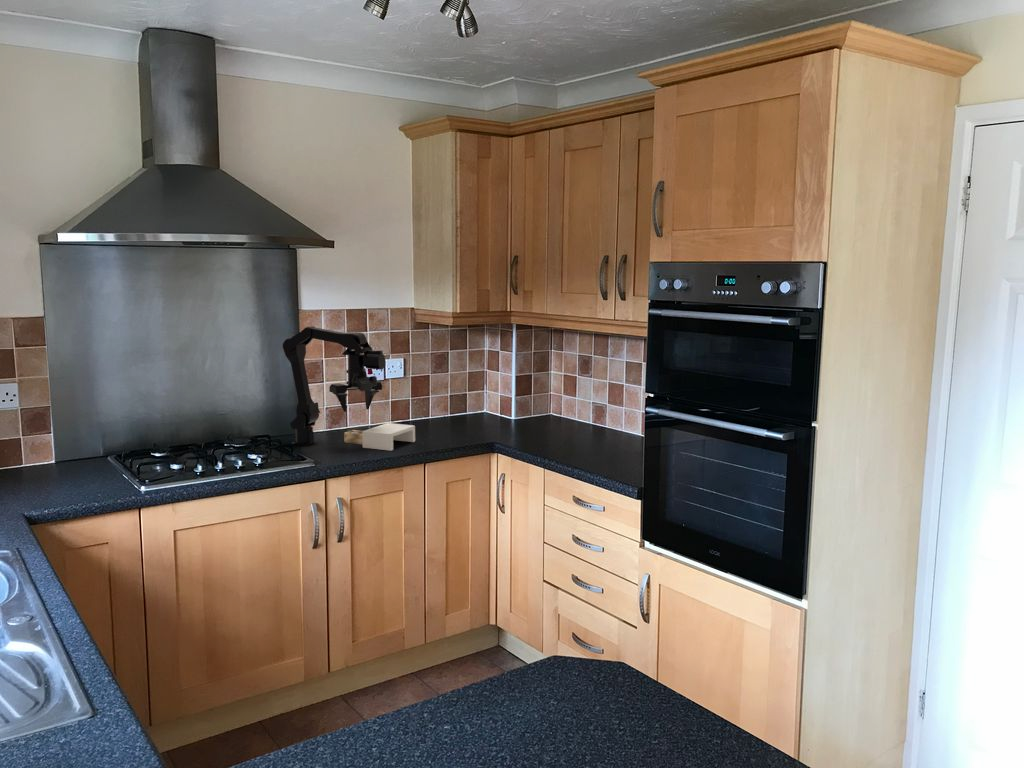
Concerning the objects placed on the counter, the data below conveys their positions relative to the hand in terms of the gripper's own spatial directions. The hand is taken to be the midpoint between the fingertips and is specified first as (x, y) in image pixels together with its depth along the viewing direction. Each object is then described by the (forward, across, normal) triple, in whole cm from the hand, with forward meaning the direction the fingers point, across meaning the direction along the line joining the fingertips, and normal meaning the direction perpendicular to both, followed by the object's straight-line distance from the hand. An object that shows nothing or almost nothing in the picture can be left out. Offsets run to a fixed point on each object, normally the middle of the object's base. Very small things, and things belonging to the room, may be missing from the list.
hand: (356, 410), depth 301 cm
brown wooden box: (+14, +5, +6) cm, 16 cm away
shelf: (+13, +12, -4) cm, 18 cm away
